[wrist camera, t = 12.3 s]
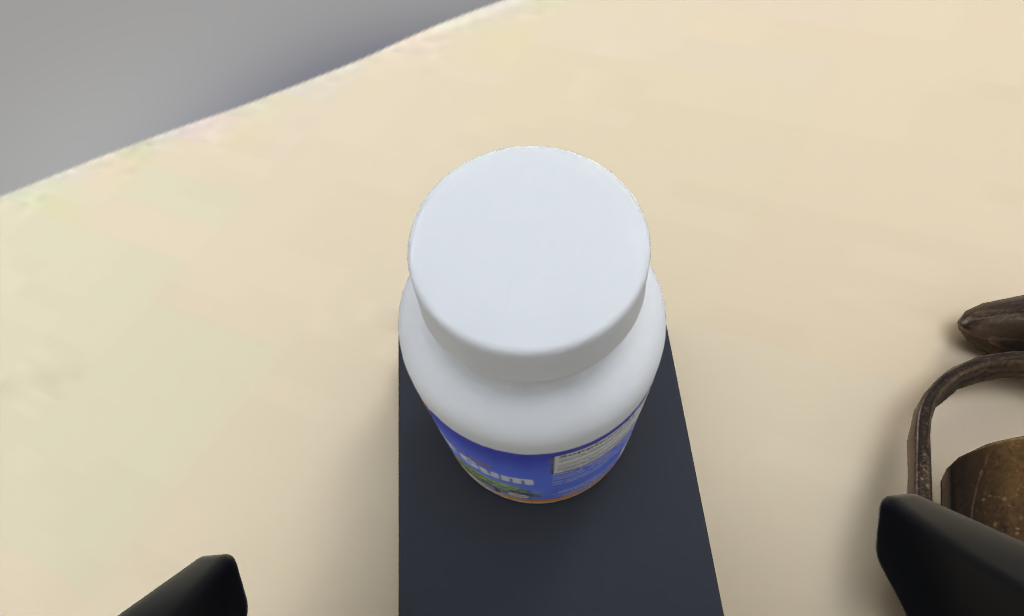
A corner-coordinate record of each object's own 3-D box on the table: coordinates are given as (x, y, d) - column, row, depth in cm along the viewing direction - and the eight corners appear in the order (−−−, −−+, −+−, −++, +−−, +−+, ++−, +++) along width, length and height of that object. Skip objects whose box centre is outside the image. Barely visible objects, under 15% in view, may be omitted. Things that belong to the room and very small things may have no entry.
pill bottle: (411, 406, 20) (291, 232, 11) (544, 297, 21) (534, 63, 12) (530, 551, 18) (503, 482, 9) (670, 420, 19) (767, 247, 10)
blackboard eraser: (776, 983, 16) (830, 1073, 13) (418, 1008, 16) (383, 1102, 13) (652, 326, 24) (667, 280, 21) (411, 349, 24) (389, 308, 21)
